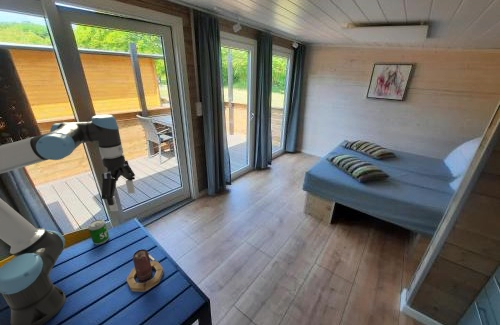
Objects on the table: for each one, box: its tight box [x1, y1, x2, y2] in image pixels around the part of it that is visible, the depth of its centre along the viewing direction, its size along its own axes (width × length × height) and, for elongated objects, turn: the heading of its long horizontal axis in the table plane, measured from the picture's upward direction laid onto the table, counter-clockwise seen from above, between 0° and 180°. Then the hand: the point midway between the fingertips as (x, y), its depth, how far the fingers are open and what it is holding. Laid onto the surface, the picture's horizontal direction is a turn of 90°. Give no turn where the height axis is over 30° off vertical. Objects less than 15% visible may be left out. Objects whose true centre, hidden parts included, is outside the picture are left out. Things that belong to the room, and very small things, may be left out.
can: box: [132, 249, 153, 283], centre depth 94 cm, size 6×6×14 cm
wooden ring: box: [126, 260, 164, 293], centre depth 96 cm, size 14×14×2 cm
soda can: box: [87, 219, 110, 245], centre depth 114 cm, size 8×8×12 cm
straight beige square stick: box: [149, 254, 156, 261], centre depth 107 cm, size 10×1×1 cm, turn 54°
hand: (123, 201), depth 91 cm, fingers open, 13 cm apart
